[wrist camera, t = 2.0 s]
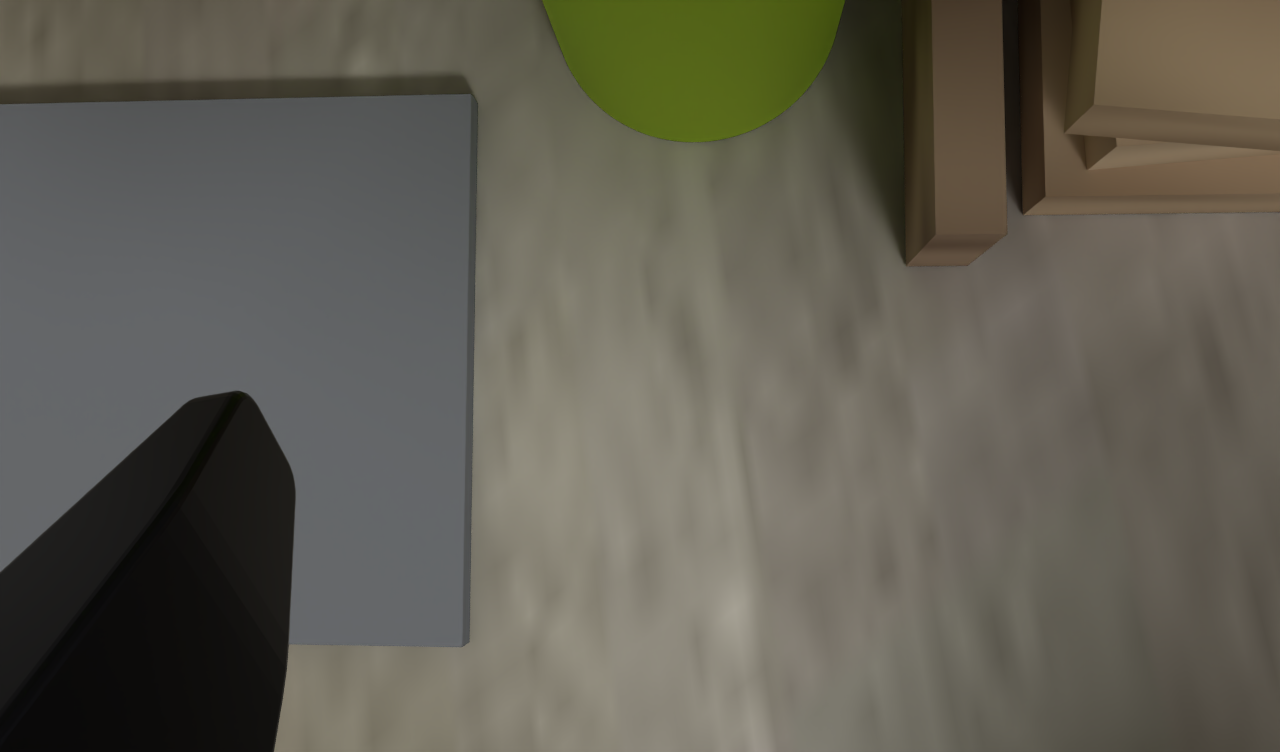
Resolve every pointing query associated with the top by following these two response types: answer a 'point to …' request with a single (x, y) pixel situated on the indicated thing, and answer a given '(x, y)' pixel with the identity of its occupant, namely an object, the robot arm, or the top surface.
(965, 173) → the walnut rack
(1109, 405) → the top surface
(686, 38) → the soap dispenser
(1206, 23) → the offcut stack
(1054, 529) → the top surface
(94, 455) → the slate mat
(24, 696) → the robot arm
